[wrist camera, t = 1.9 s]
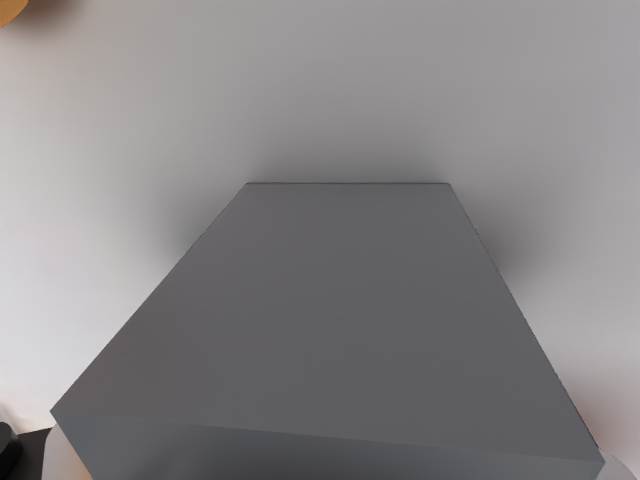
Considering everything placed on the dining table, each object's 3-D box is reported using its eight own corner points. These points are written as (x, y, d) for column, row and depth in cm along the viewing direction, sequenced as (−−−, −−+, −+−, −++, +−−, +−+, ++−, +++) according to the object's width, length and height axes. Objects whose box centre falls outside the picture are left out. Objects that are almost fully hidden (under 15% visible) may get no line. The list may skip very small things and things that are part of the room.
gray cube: (246, 183, 12) (49, 411, 5) (449, 183, 12) (606, 462, 4) (268, 330, 16) (172, 604, 8) (427, 338, 15) (488, 655, 7)
